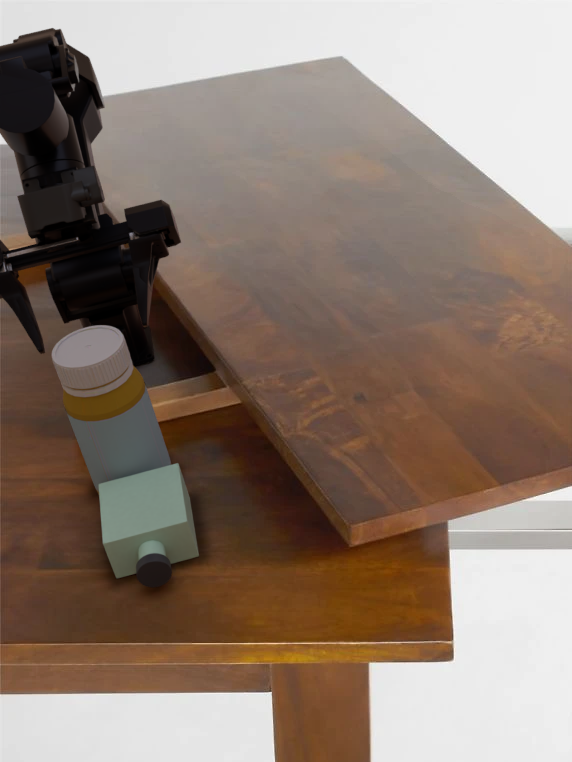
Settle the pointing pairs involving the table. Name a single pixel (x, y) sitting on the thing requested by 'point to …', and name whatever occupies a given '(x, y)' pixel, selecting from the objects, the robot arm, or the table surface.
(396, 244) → the table surface
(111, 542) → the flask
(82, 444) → the bottle
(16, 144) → the robot arm
